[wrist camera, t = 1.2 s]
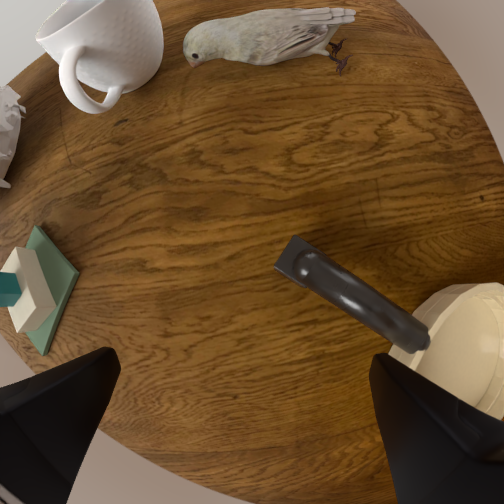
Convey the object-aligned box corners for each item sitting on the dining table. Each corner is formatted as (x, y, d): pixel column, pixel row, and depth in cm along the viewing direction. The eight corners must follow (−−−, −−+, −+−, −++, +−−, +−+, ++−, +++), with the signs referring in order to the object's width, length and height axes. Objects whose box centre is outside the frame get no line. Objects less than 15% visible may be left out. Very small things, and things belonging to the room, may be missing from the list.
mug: (165, 127, 22) (94, 30, 9) (78, 148, 23) (-2, 92, 10) (184, 35, 24) (151, -43, 11) (109, 57, 25) (63, -2, 12)
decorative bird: (194, 53, 23) (175, 5, 16) (341, 49, 22) (351, -1, 14) (187, 85, 23) (162, 34, 15) (350, 82, 21) (365, 27, 14)
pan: (443, 453, 16) (462, 473, 11) (340, 408, 18) (353, 435, 14) (517, 328, 16) (543, 332, 12) (436, 250, 19) (467, 242, 14)
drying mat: (47, 355, 21) (42, 356, 20) (11, 303, 22) (6, 303, 22) (80, 273, 22) (74, 273, 21) (39, 226, 23) (34, 224, 22)
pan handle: (397, 350, 18) (424, 365, 14) (274, 269, 20) (272, 265, 15) (413, 324, 18) (443, 333, 14) (291, 242, 20) (295, 230, 15)
